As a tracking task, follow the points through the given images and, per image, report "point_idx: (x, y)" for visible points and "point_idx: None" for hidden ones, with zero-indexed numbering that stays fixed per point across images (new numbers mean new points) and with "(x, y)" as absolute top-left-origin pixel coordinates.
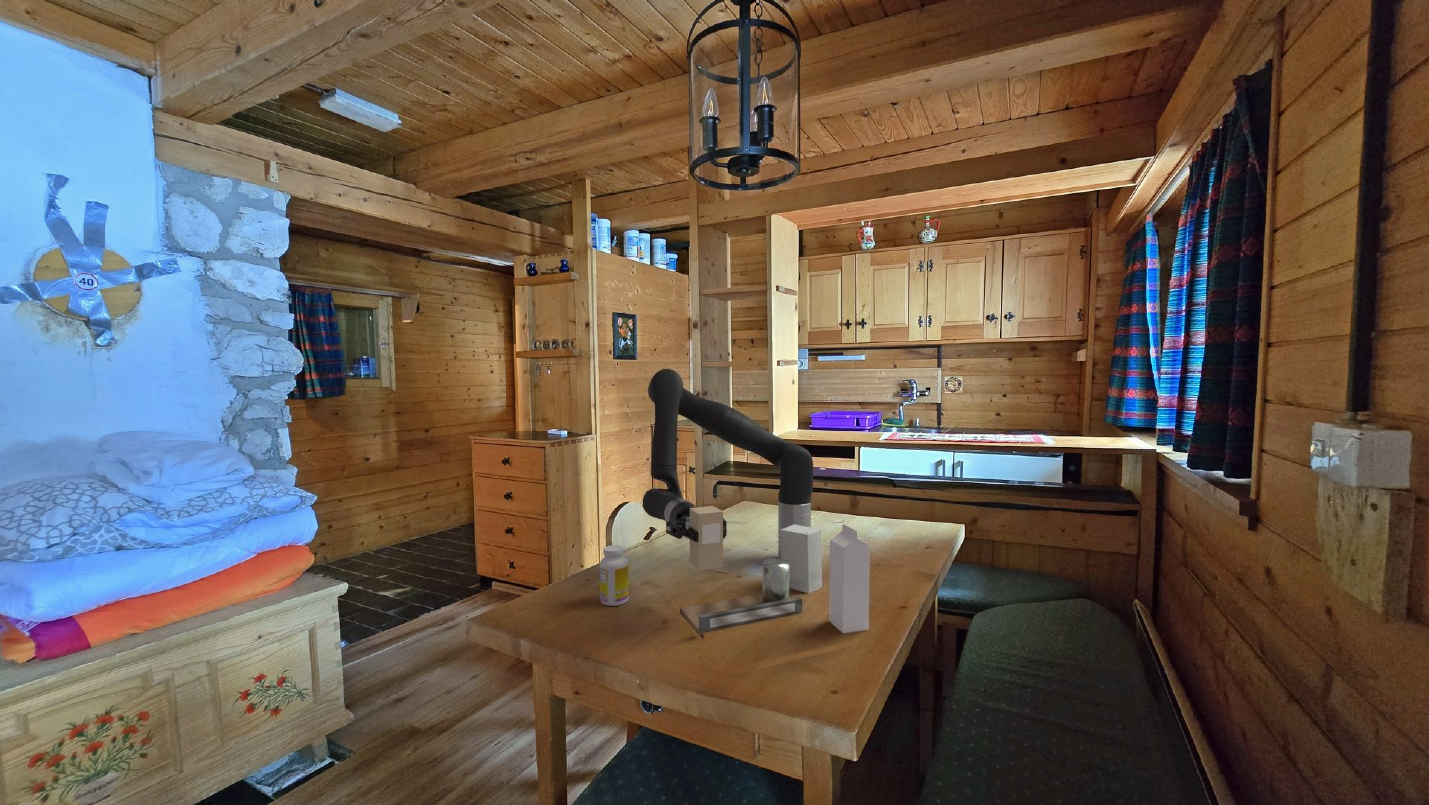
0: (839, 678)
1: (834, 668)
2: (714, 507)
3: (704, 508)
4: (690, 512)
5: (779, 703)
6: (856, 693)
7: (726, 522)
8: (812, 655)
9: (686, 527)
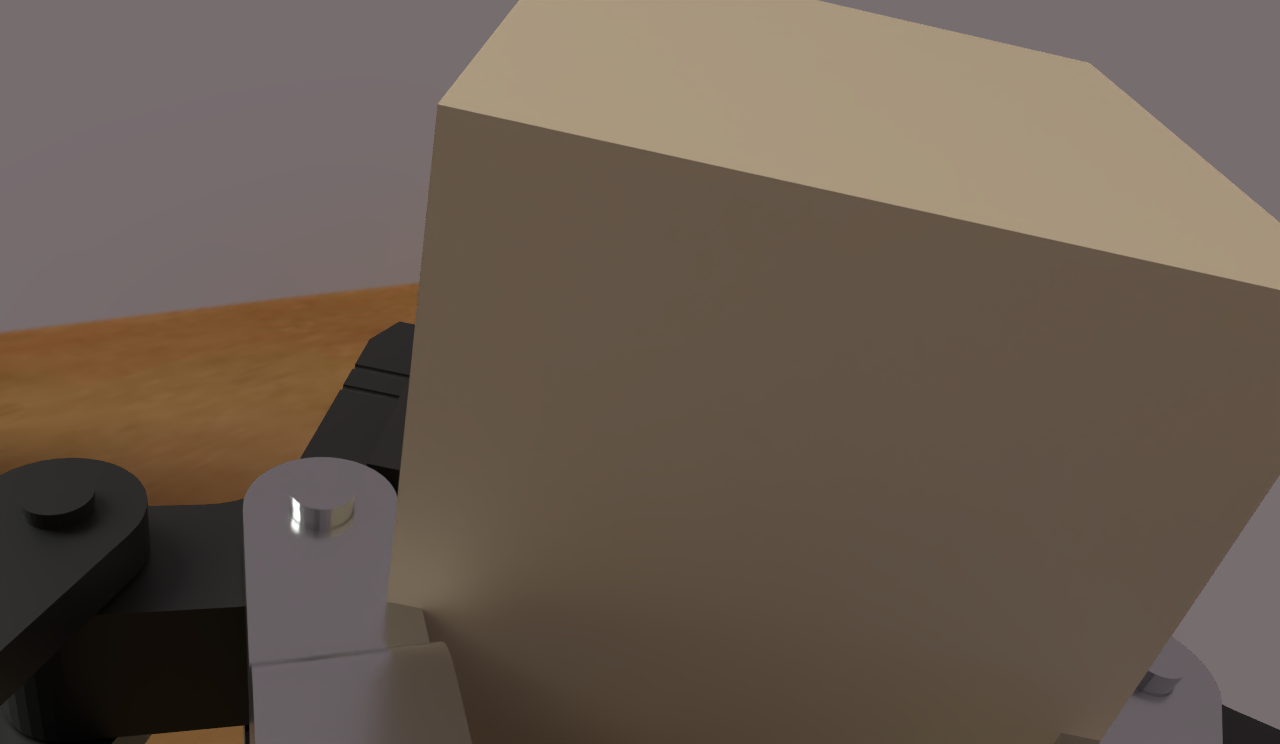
0: (327, 360)
1: (275, 393)
2: (529, 45)
3: (870, 122)
4: (1274, 391)
5: None
6: (363, 307)
7: (47, 464)
8: (249, 480)
9: (1186, 653)
